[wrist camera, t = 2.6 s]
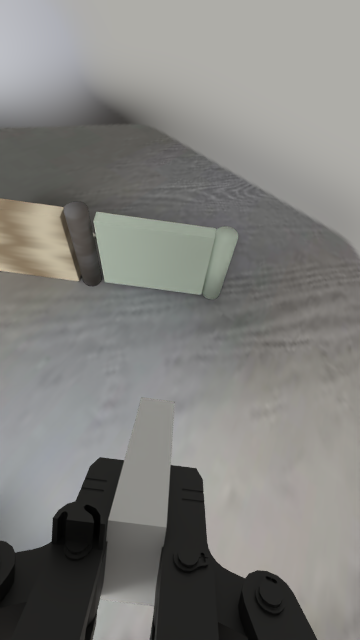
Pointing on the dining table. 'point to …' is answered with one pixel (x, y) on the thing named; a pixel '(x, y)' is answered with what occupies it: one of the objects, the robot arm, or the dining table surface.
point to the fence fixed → (48, 241)
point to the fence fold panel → (164, 254)
